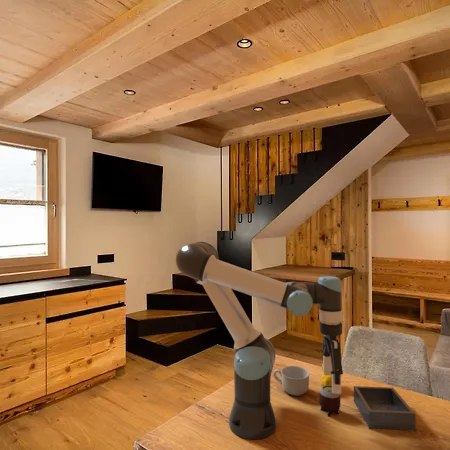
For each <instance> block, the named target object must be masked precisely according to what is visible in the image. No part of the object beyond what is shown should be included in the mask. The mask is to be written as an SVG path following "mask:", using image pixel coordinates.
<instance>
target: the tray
mask: <svg viewBox="0 0 450 450" xmlns="http://www.w3.org/2000/svg"><path fill="white" fill-rule="evenodd" d="M353 402H354V405H355V407H356V408H357V409H358V411H359V413H360V415H361V417H362V419H363V421H364V422H365V423H366V425H367V428H368V429H369V430H383V431H384V430H385V431H387V430H388V431H404V432H405V431H406V432H416V412H415V411H414V410H413V409H412V408H411V407H410V405H408V403H407V402H406V401H405V400H404V398H403V397H401V395H400V393H399V392H398V391H397V390H396V389H395V388H394V387H388V386H387V387H386V386H385V387H383V386H361V385H360V386H359V385H353Z"/></svg>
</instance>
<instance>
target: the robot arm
mask: <svg viewBox="0 0 450 450" xmlns="http://www.w3.org/2000/svg"><path fill="white" fill-rule="evenodd" d="M219 258H220V257H219V252H218V250H217V248H216V247H215V246H214V245H212V244H211V243H209V242H206V241H196V242H194V243H193V242H192V243H186V244H185V245H183V246H181V247H180V248H179V250H178V251H177V253H176V256H175V265H176V267H177V270H179V272H181V274H183V275H185V276H186V277H189V278H191V279H193V280H194V281H195V283H196V284H197V285H198V284H199V285H202V287H203V290H205V293H206V294H207V296H208V297H209V299H210V301H211V302H212V304H213V306H214V307H215V309H216V311H217V313H218V315H219V317H220V318H221V320H222V322H223V323H224V325H225V327H226V329H227V330H228V332H229V334H230V335H231V338H232V339H233V341H234V344H233V349H234V351H235V352H236V353H235V354H234V360H233V372H234V376H233V377H234V381H233V382H234V389H233V390H234V391H233V392H234V400H233V401H234V402H233V404H232V406H231V411H230V413H229V416H228V417H229V419H228V423H229V424H228V426H229V429H230V430H231V432H232V433H234V435H236V436H238V437H241V438H243V439H248V440H261V439H265V438H267V437H270V436H271V435H273V434H274V432H275V431H276V428H277V418H276V415H275V412H274V411H275V410H274V408H273V405H272V402H271V377H272V372H273V368H274V365H275V361H276V352H275V351H276V350H275V347H274V345H273V343H272V342H271V341H270V340H269V339H268V338H266V337H265V336H264V334H263V333H262V331H261V330H259V329H255V327H254V326H253V324H252V322H251V320H250V318H249V317H248V315H247V314H246V313H247V312H246V311H245V310H244V308H243V306H242V305H241V303H240V302H239V299H238V297H236V294H235V293H234V291H237V292H240V293H242V294H245V295H248V296H251V297H253V298H257V299H259V300H262V301H264V302H268V303H271V304H273V305H276V306H279V307H281V308H284V309H287V310H288V311H290V313H291V314H293V315H294V316H297V317H303V316H306V315H308V313H310V311H311V310H312V308H313V305H318V315H319V316H318V317H319V319H318V320H319V321H320V322H319V333H320V334H322V347H321V348H322V349H321V352H322V355H323V362H324V372H323V373H324V375H332V393H334V394H340V395H341V394H342V376H343V375H344V372H343V365H342V357H341V346H340V345H341V343H340V342H339V340H338V338H337V337H338V336H341V335H342V334H343V323H342V321H343V317H342V316H344V312H343V303H342V301H343V299H342V298H343V294H342V293H343V291H342V281H341V278H339V277H338V276H330V275H329V276H328V275H325V276H320V277H318V280H317V282H305V281H304V282H302V281H301V282H300V281H289V282H288V281H287V282H283V281H280V280H278V279H275V278H272V277H269V276H266V275H263V274H261V273H258V272H255V271H252V270H248V269H246V268H242V267H240V266H237V265H234V264H231V263H229V262H225V261H223V260H220V259H219ZM233 290H234V291H233ZM332 370H333V371H332ZM341 375H342V376H341Z"/></svg>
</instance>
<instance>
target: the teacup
mask: <svg viewBox="0 0 450 450" xmlns="http://www.w3.org/2000/svg"><path fill="white" fill-rule="evenodd" d="M277 373H278V374H279V376H280V377H281V378H279V377H278V376H277ZM272 375H273V378H274V379H275V380H276V381H277V382H278V383H279V384H280V385H281V386H282V388H283V390H284V391H285V392H286V393H287V394H289V395H291V396H296V397H298V396H302V395H304V394H305V393H306V392H308V390H309V385H310V371H309V370H307V369H306V368H305V367H303V366H299V365H288V366H285V367H283V368H282V369H279V368H276V369H274V370H273V374H272Z"/></svg>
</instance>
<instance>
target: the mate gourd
mask: <svg viewBox="0 0 450 450" xmlns="http://www.w3.org/2000/svg"><path fill="white" fill-rule="evenodd" d="M342 376H343V375H341V377H342ZM318 398H319V405H320V411H321V412H325V413H327V415H326V416H327V417H331V414H332V415H333V414H334V415H340V409H341V400H342V399H341V394H334V393H332V386H323V385H322V387H321V388H320V389H319V394H318Z"/></svg>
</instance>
